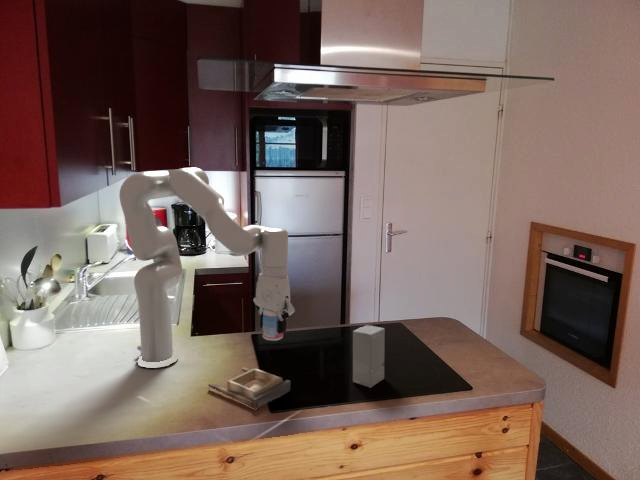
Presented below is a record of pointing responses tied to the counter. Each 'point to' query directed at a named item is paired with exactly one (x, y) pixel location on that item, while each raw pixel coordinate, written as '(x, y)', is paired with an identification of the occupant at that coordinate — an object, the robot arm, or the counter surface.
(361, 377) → the skincare box
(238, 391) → the crate
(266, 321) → the pill bottle
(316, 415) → the counter surface
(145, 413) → the counter surface
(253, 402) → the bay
